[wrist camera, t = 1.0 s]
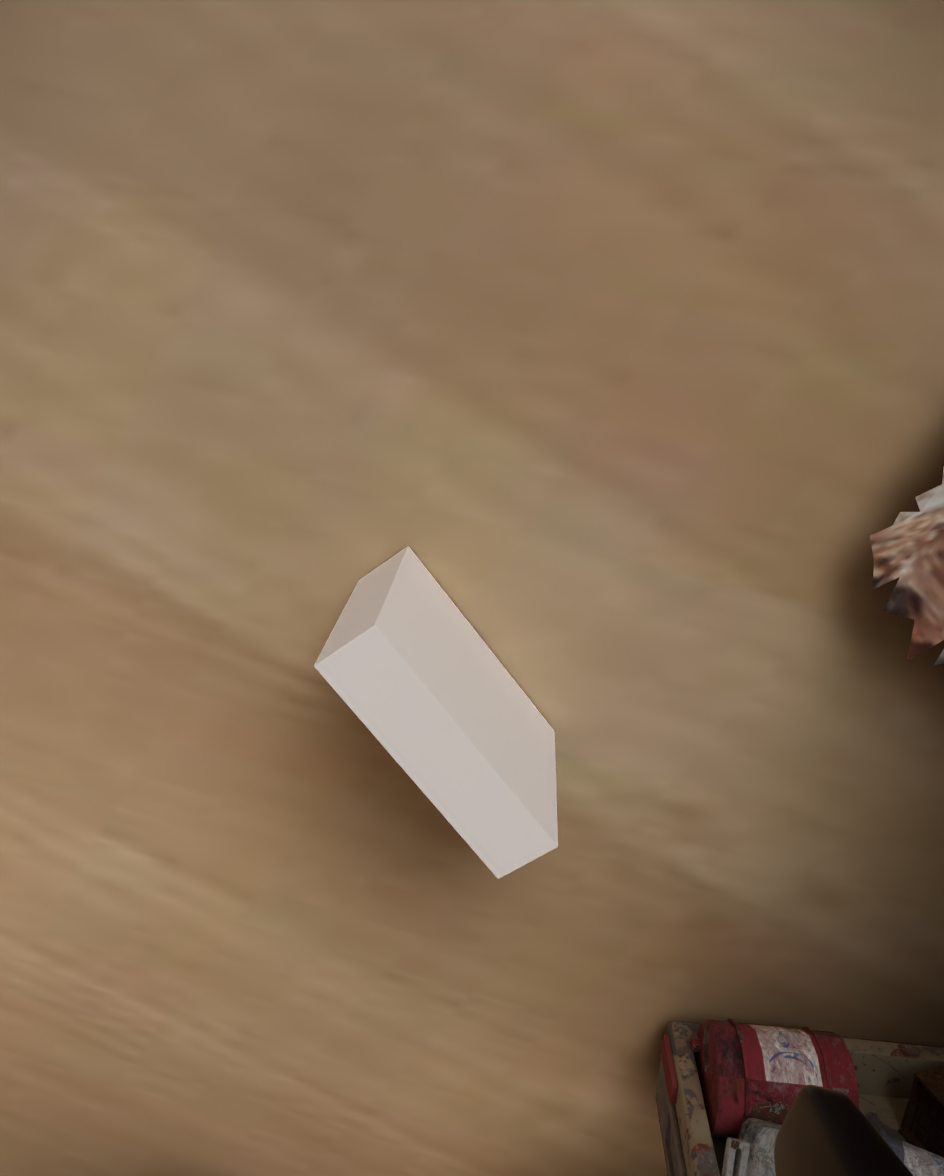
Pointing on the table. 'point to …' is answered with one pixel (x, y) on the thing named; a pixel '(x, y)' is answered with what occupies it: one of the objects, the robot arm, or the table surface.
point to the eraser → (446, 712)
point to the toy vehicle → (788, 1094)
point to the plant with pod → (915, 569)
